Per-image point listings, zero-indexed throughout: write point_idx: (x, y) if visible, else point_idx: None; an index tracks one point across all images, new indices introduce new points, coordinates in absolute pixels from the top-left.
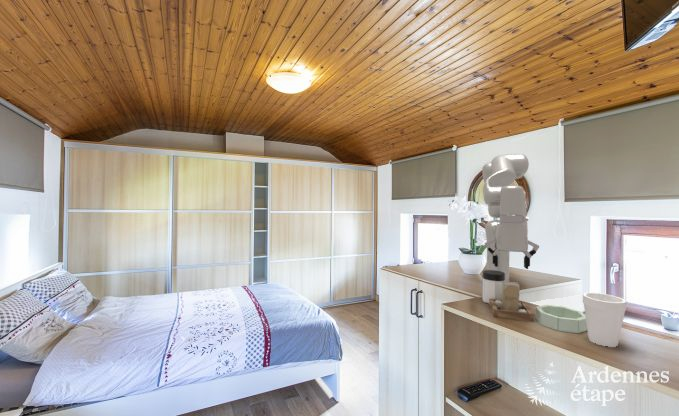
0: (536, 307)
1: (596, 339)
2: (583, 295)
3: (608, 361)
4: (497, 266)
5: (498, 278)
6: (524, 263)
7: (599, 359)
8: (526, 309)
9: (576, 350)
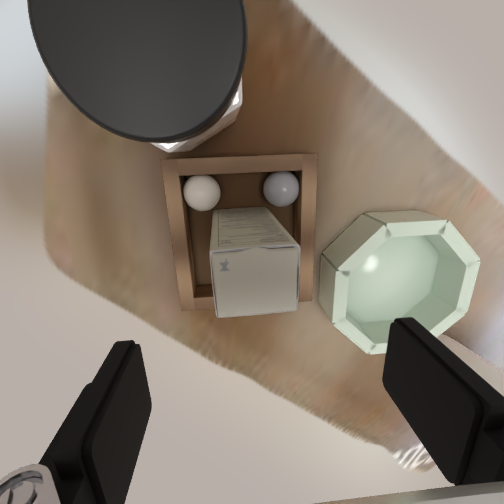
0: (335, 275)
1: None
2: None
3: (383, 435)
4: (150, 405)
5: (189, 137)
6: (411, 366)
7: (371, 434)
8: (300, 256)
9: (346, 416)
